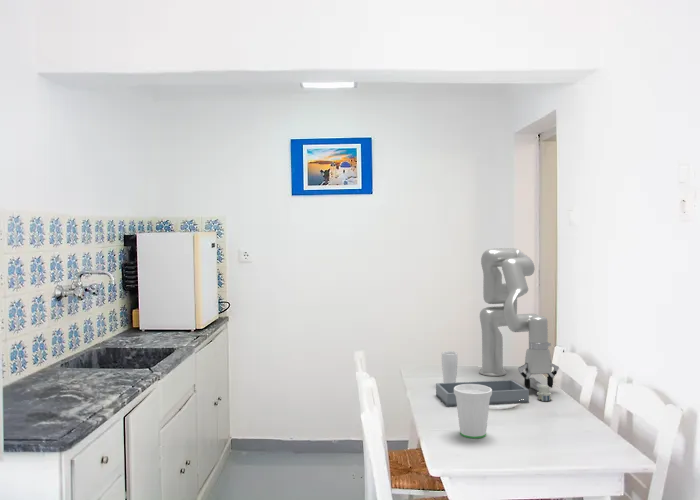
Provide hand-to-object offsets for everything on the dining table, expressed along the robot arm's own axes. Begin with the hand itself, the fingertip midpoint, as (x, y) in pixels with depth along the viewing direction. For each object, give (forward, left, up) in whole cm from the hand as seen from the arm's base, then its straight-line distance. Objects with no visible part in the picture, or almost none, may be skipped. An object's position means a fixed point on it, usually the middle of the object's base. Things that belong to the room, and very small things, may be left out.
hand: (538, 387), depth 243 cm
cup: (+43, -43, -3) cm, 61 cm away
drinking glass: (-16, -33, -3) cm, 37 cm away
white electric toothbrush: (-1, 0, -3) cm, 3 cm away
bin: (+4, -26, -3) cm, 26 cm away
